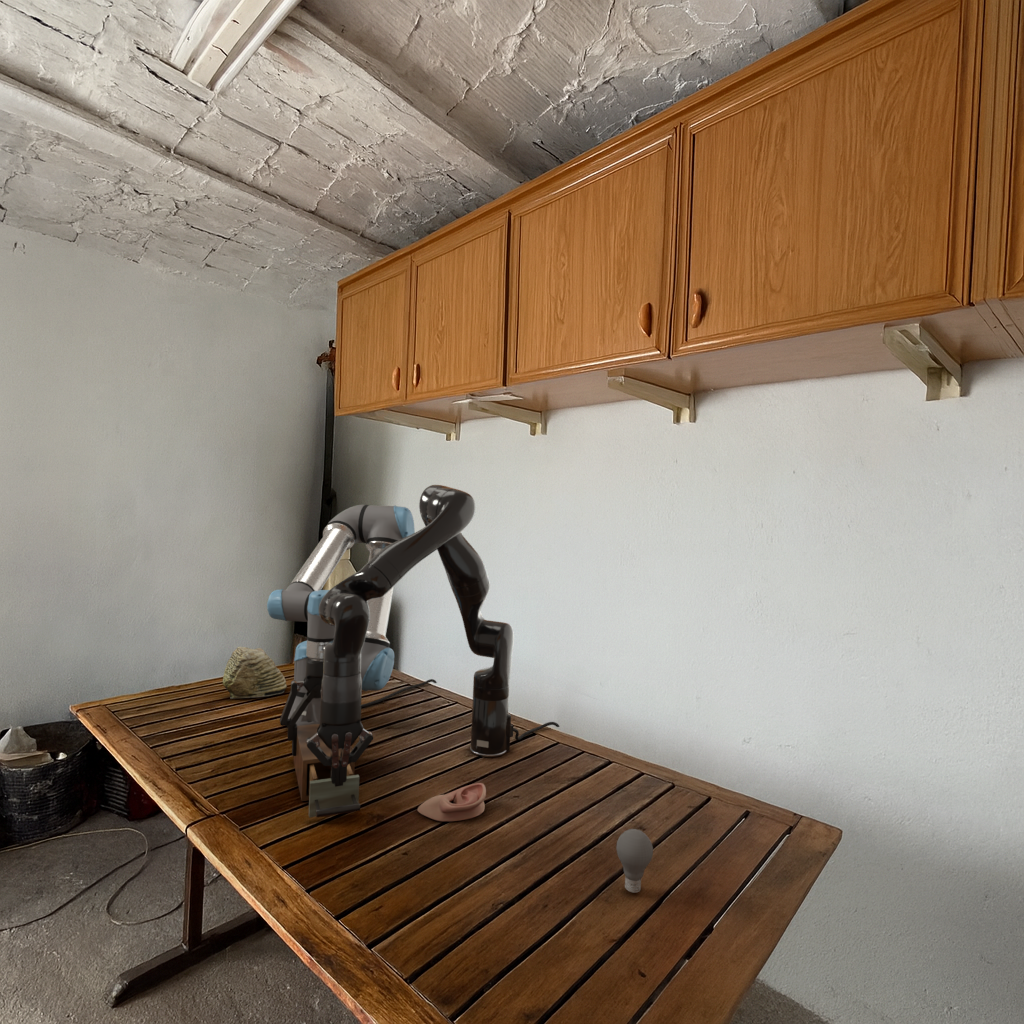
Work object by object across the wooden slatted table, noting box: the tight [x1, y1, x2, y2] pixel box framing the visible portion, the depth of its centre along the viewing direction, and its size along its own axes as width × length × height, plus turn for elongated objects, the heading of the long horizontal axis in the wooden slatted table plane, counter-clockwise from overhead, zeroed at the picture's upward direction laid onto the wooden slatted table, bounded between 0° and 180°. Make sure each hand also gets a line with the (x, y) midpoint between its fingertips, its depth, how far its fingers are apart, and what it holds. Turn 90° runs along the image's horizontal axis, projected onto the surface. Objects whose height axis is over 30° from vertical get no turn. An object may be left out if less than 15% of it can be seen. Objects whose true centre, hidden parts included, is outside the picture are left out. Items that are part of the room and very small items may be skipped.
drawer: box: [307, 760, 361, 818], centre depth 131 cm, size 25×9×7 cm, turn 23°
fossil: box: [222, 646, 288, 699], centre depth 198 cm, size 9×18×15 cm, turn 132°
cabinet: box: [293, 724, 356, 802], centre depth 143 cm, size 21×11×9 cm, turn 23°
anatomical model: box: [417, 782, 487, 822], centre depth 131 cm, size 13×4×12 cm
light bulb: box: [615, 828, 654, 894], centre depth 106 cm, size 6×6×10 cm
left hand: (319, 750), depth 148 cm, fingers closed on cabinet, 11 cm apart
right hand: (338, 784), depth 122 cm, fingers closed
